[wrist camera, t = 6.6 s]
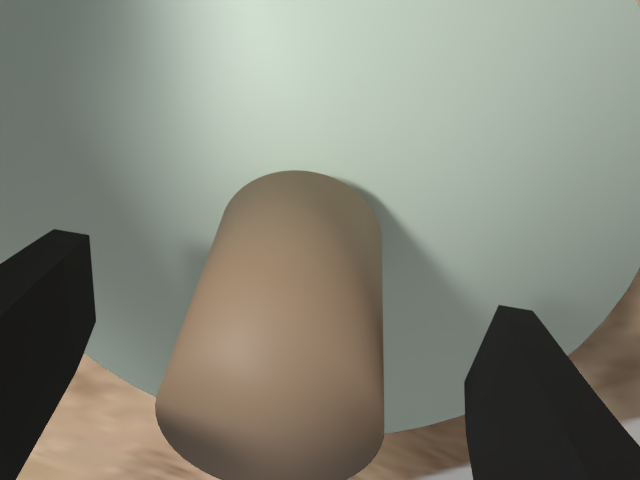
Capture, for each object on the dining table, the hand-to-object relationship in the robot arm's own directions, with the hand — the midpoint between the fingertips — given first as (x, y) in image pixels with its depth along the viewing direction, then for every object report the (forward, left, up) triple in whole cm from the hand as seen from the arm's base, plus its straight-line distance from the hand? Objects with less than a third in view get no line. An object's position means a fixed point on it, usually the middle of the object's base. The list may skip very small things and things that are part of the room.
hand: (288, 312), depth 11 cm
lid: (0, 0, -3) cm, 3 cm away
